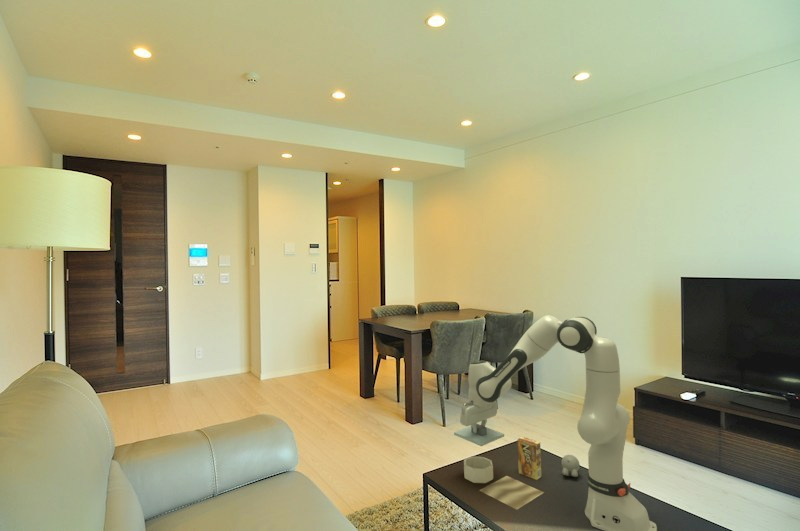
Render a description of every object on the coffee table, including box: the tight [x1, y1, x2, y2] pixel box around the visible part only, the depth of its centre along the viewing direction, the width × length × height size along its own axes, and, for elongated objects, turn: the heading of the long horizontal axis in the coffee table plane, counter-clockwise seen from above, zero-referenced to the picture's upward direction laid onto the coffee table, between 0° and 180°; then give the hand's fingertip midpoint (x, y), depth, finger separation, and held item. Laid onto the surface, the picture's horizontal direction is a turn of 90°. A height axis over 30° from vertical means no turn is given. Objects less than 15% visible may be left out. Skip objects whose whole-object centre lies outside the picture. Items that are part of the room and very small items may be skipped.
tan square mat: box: [478, 475, 545, 510], centre depth 168 cm, size 18×18×1 cm
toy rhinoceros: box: [561, 454, 581, 478], centre depth 182 cm, size 7×12×8 cm, turn 152°
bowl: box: [463, 456, 494, 484], centre depth 181 cm, size 12×12×6 cm
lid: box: [453, 423, 505, 447], centre depth 180 cm, size 15×15×4 cm
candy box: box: [517, 436, 542, 481], centre depth 181 cm, size 9×4×15 cm, turn 44°
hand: (479, 430), depth 180 cm, fingers closed on lid, 3 cm apart
